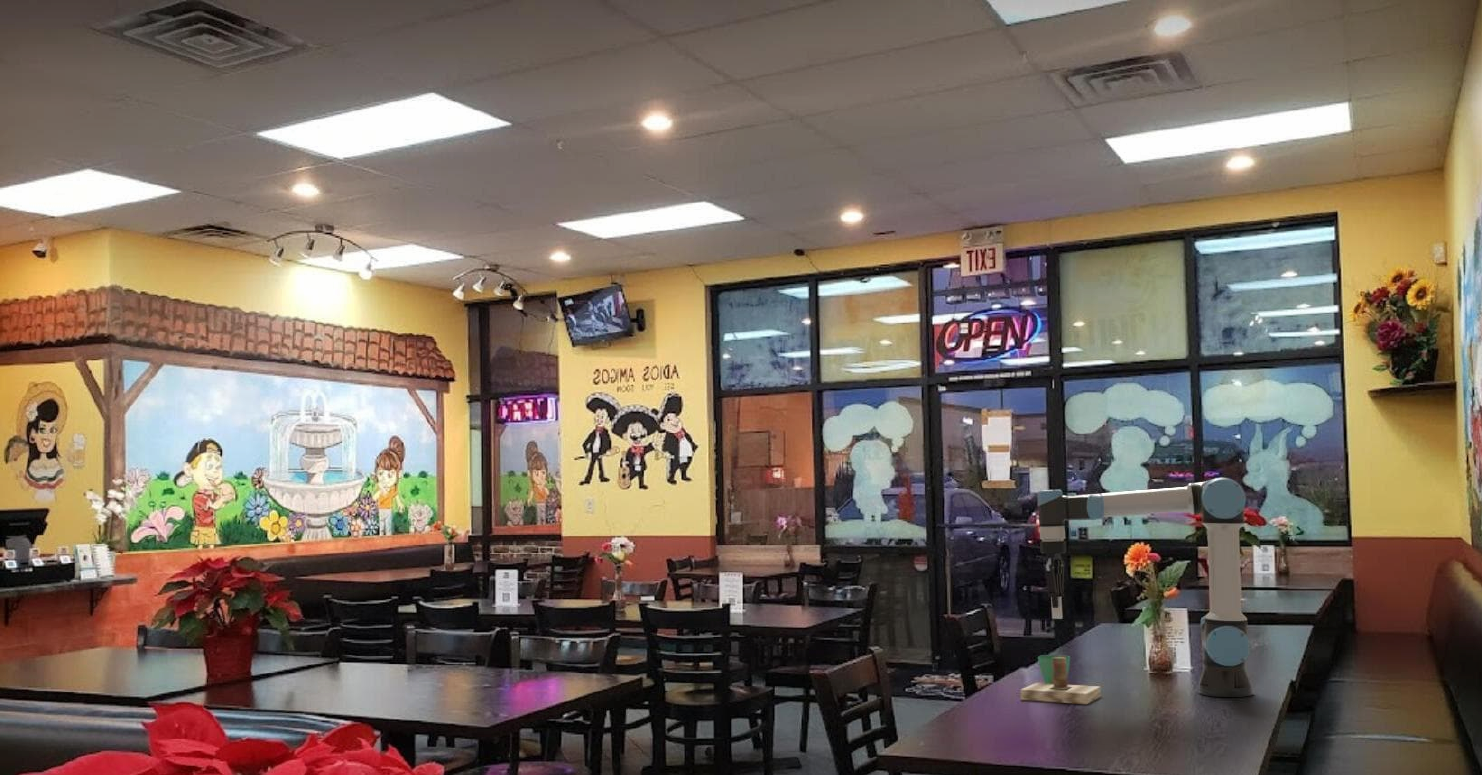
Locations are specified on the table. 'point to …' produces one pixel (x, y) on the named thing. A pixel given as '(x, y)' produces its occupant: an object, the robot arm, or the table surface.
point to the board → (1061, 693)
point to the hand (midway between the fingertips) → (1057, 618)
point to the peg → (1059, 673)
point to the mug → (1050, 666)
